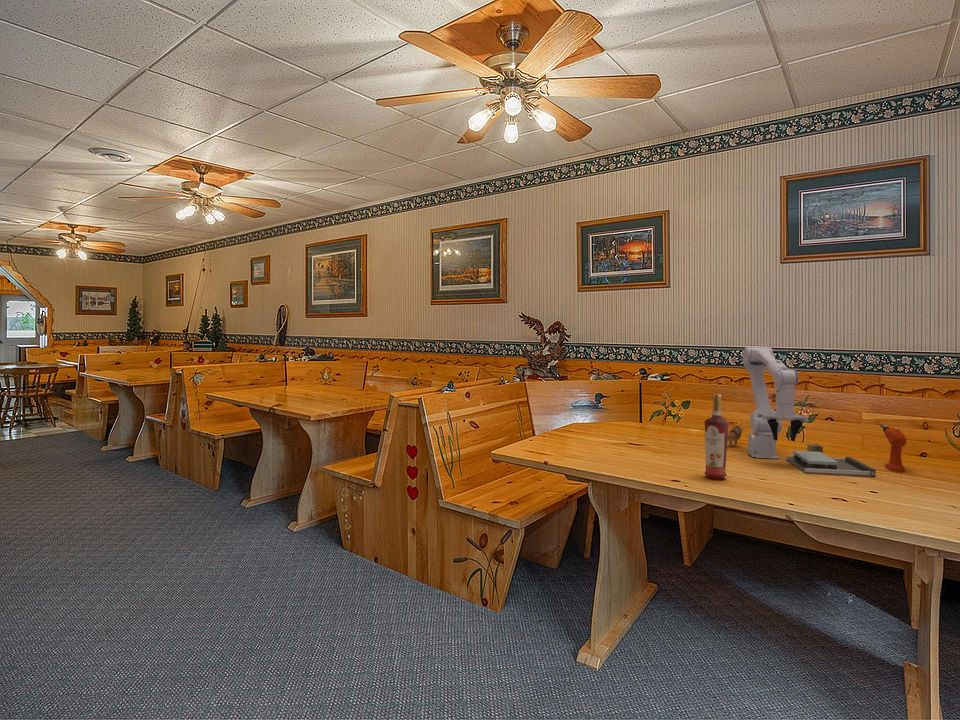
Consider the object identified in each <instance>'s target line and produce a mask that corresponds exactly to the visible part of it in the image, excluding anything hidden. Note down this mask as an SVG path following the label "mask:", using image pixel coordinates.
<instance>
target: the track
mask: <svg viewBox="0 0 960 720" xmlns="http://www.w3.org/2000/svg"><path fill="white" fill-rule="evenodd" d="M831 458H832V459H834V460H835V461H837V462H838V465H836V466H837V469H836V470H834V469H829V468H828V465H827V464H815V469H814V468H807V462H806V461H804V460H802V459H801V460H800V461H797V460H795V459H794V455H787V456H786V462H788V463H790V464H791V465H792V464H793V466H794V467H795V468H797V469H798V470H799V469H800V471H801V472H803V474H807V475H810V474H811V475H825V476H840V475H841V476H842V475H843V477H859V478H862V477H863V478H876V477H877V475H876V473H877V470H876V469H874V468H872V467H871V466H869V465H867V464H865V463H863V462H860V461H859V460H857V459H855V458H853V457H851V456H845V457H844V458H843V457H842V458H839V457H838V458H837V457H835V458H834V457H831Z"/></svg>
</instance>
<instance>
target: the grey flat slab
mask: <svg viewBox="0 0 960 720" xmlns="http://www.w3.org/2000/svg"><path fill="white" fill-rule="evenodd" d="M792 454H793V456H794V459H795V460H797V461H800V460H801V459H802V460H804V461H806V462H807V468H814V469H815V464H827V465H828V468H829V469H834V470H836V469H837V466H836V465H838V462H837V461H835V460H834V459H832V458H833V457H830V456H828V455H826V454H824V452H823V453H821V452H811V451H807V450H792Z"/></svg>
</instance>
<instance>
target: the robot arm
mask: <svg viewBox="0 0 960 720" xmlns="http://www.w3.org/2000/svg"><path fill="white" fill-rule="evenodd" d="M742 362H743V366H744V369H745V370H747V371H748V374H749V378H750V383H751V389H752V393H753V399H754V404H755V410H754V411H753V412H752V413H751V414H750V416H749V419H750V422H749V425H750V430H751V431H752V432H753V433H749V434H748V437H747V438H748V439H747V443H748V444H747V452H746V453H747V454H748V455H749V456H750V455H751V456H752V457H751V456H750V457H751V458H753V457H756V458H757V459H772V460H773V459H774V460H775V459H776V460H777V459H778V460H780V457H779V456H778V455H777V453H776V451H777V441H778V435H779V433H781V431H782V429H783V423H782V421H783V422H784V421H785V422H786V421H787V422H789V421H790V441H791V442H796V437H797V434H798V432H799V430H800V429H801V427H802V426H803V422H809V416H808V415H805V414H804V415H802V414H801V415H800V414H795V395H796V394H795V393H796V392H795V391H796V388H795V387H796V386H797V385H798V383H799V373H798V372H797V370H796V369H790V368H789V367H787V366H786V365H785V364H784V363H783V362H782V360H781V359H776V358H775V357H774V350H773V348H772V347H770V346H764V347H763V346H746V347H744V349H743V351H742ZM764 371H767V372H768V373H769V374H770V375H771V376H772V379H773V383H774V390H775V394H776V395H775V410H774V409H773V408H771V405H770V399H769V394H768V389H767V385H766V380H765V375H764ZM756 458H755V459H756Z"/></svg>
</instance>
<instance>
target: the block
mask: <svg viewBox="0 0 960 720" xmlns="http://www.w3.org/2000/svg"><path fill="white" fill-rule="evenodd" d="M806 446H807V447H806V448H807V449H806V451H811V452H821V453H823V454H824V446H823V445H821V444H820V443H819V444H817V443H816V444H815V443H806Z"/></svg>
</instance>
